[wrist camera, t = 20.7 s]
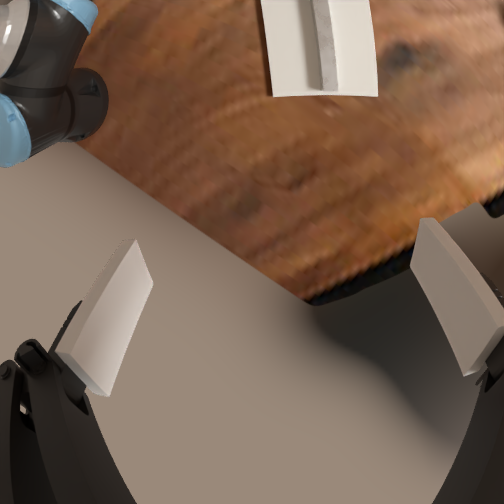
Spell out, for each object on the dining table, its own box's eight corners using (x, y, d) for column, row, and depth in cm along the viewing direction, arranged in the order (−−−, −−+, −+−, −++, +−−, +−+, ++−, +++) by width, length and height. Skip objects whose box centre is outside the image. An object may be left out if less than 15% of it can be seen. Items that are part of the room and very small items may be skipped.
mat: (255, -35, 27) (254, -37, 26) (360, -32, 25) (361, -33, 24) (273, 96, 42) (273, 97, 41) (376, 96, 40) (378, 96, 39)
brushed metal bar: (292, -33, 26) (294, -41, 23) (328, -32, 26) (333, -39, 23) (310, 91, 40) (313, 92, 37) (345, 90, 39) (351, 92, 36)
